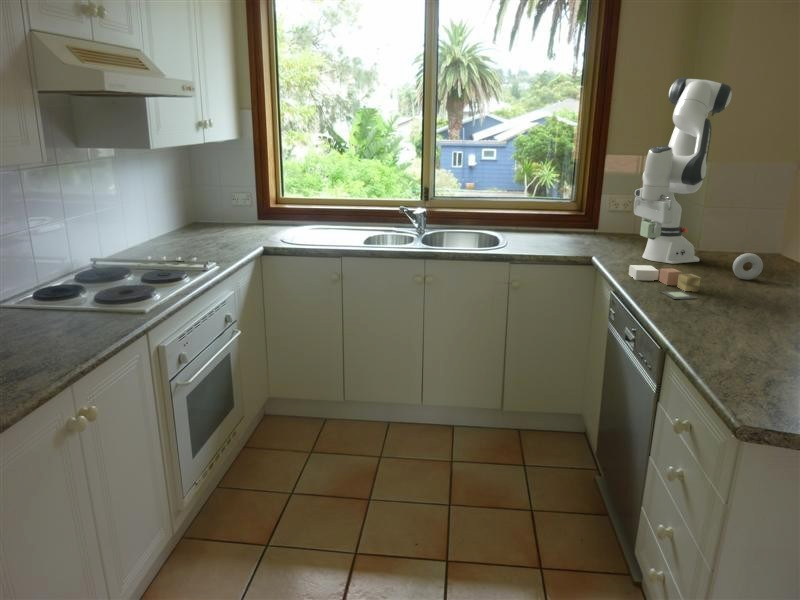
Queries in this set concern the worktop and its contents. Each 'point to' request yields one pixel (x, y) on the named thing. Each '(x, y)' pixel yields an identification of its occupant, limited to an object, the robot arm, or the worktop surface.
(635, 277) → the base block
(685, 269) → the worktop surface
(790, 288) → the worktop surface
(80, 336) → the worktop surface
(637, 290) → the worktop surface
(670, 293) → the tile
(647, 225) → the sage cube
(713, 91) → the robot arm
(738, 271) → the donut
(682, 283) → the ochre cube
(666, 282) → the terracotta cube
